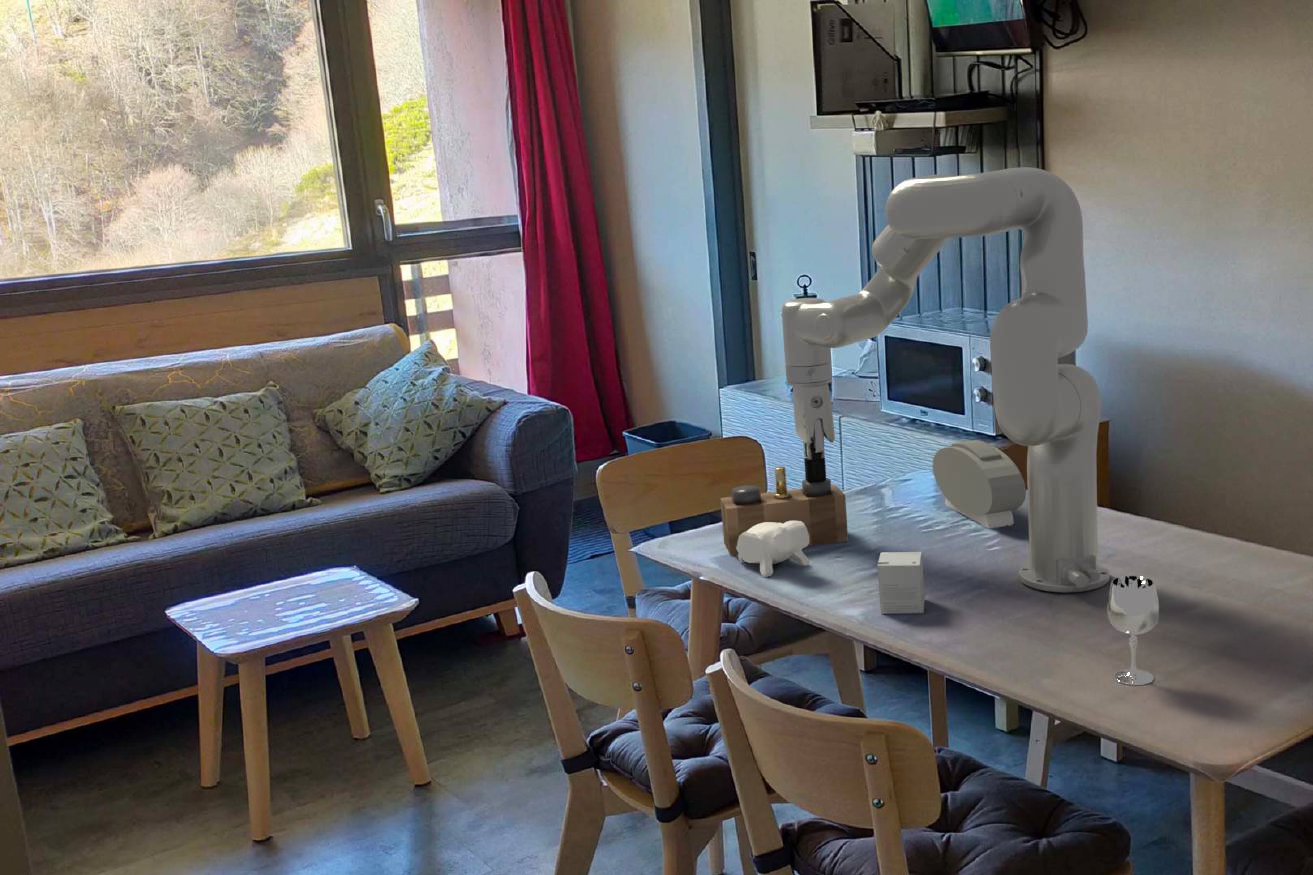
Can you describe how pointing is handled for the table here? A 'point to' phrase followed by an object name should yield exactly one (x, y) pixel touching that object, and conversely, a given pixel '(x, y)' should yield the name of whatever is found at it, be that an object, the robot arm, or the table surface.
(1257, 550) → the table surface
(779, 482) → the brass door knob
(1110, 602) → the wineglass
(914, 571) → the skincare box
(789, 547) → the white piece
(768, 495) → the walnut mount
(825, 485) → the knob
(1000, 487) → the alarm clock
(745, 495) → the dark grey rounded lump
